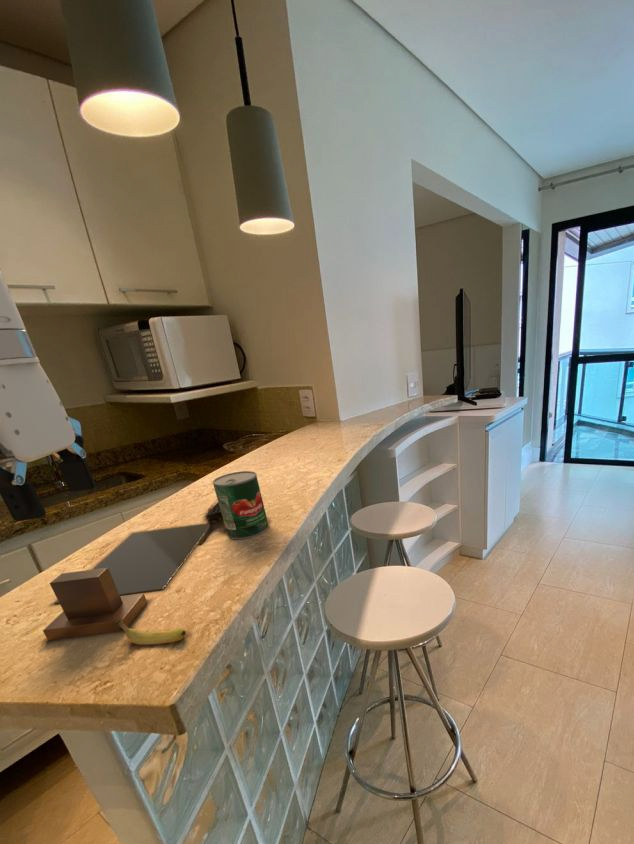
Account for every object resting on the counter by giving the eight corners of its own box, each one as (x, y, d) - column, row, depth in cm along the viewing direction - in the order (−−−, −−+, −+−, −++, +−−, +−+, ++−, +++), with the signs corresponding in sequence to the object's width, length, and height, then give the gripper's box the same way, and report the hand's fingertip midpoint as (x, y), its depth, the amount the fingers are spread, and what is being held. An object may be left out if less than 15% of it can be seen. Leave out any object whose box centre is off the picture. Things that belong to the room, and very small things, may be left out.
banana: (122, 651, 50) (110, 625, 48) (131, 642, 51) (119, 616, 50) (185, 648, 49) (175, 621, 47) (192, 638, 51) (183, 612, 49)
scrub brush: (50, 645, 52) (22, 593, 49) (78, 616, 58) (55, 568, 55) (128, 634, 53) (106, 582, 50) (149, 607, 58) (130, 558, 55)
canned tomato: (240, 522, 84) (227, 471, 80) (275, 521, 82) (263, 469, 78) (219, 540, 77) (203, 485, 73) (257, 540, 75) (243, 484, 71)
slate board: (56, 608, 61) (53, 603, 60) (134, 537, 83) (132, 533, 82) (165, 594, 61) (163, 588, 61) (213, 527, 83) (212, 522, 83)
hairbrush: (246, 475, 105) (241, 503, 82) (249, 489, 107) (245, 520, 84) (212, 481, 103) (198, 512, 81) (216, 495, 105) (203, 529, 82)
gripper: (15, 355, 51) (72, 484, 57) (-136, 360, 35) (-33, 538, 41) (76, 347, 51) (126, 477, 58) (-46, 349, 35) (42, 528, 42)
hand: (59, 502), depth 50 cm, fingers open, 9 cm apart
